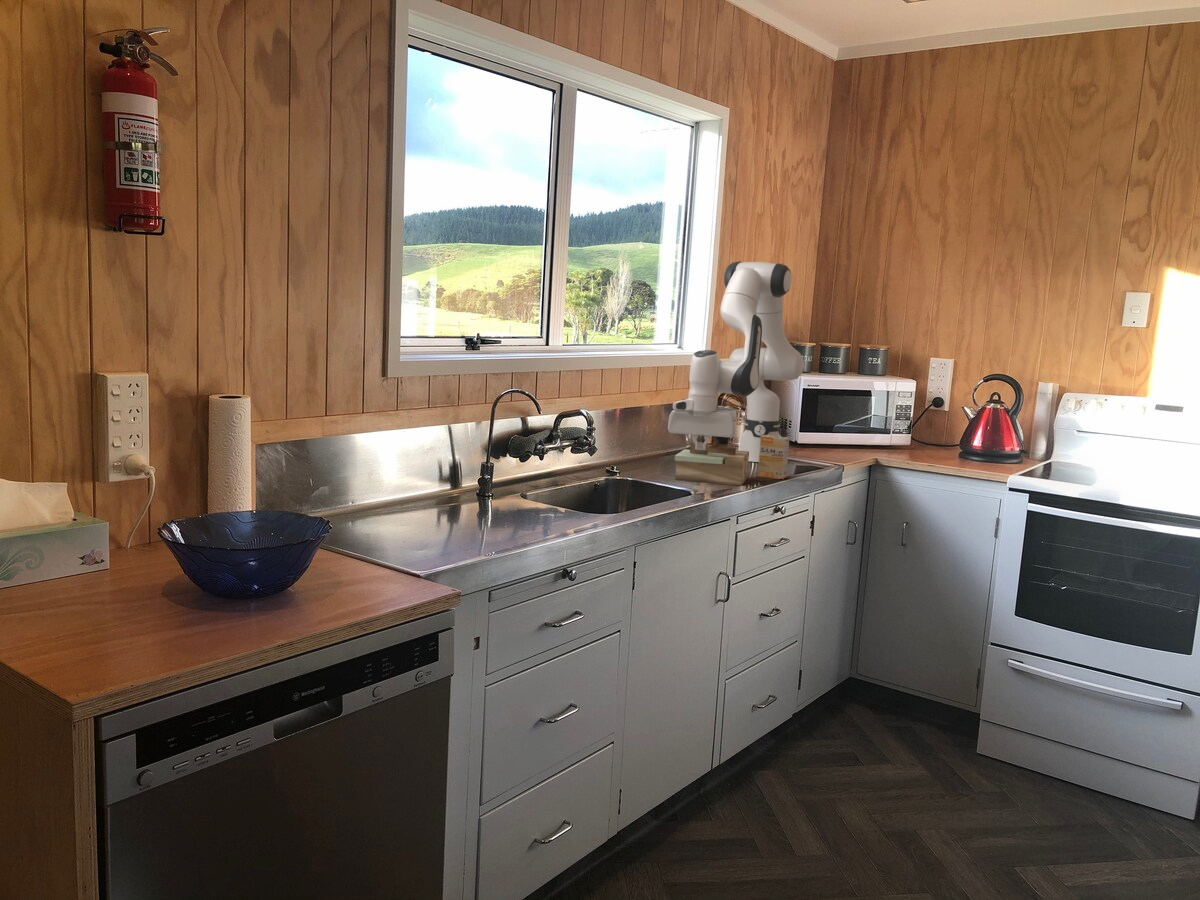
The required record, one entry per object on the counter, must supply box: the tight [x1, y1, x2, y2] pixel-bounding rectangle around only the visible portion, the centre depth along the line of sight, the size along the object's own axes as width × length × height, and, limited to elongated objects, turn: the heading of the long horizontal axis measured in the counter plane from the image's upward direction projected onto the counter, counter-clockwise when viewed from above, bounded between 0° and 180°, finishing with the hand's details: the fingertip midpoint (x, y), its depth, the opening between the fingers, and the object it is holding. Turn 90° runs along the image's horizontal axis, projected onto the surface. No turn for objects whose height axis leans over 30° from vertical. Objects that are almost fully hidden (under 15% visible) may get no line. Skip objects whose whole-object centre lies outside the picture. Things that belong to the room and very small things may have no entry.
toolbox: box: [674, 450, 749, 486], centre depth 294 cm, size 14×20×8 cm
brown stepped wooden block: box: [708, 439, 737, 455], centre depth 290 cm, size 2×8×4 cm, turn 74°
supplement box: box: [757, 435, 790, 480], centre depth 300 cm, size 8×5×13 cm, turn 62°
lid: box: [674, 441, 728, 464], centre depth 294 cm, size 14×14×5 cm
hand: (700, 449), depth 292 cm, fingers closed
